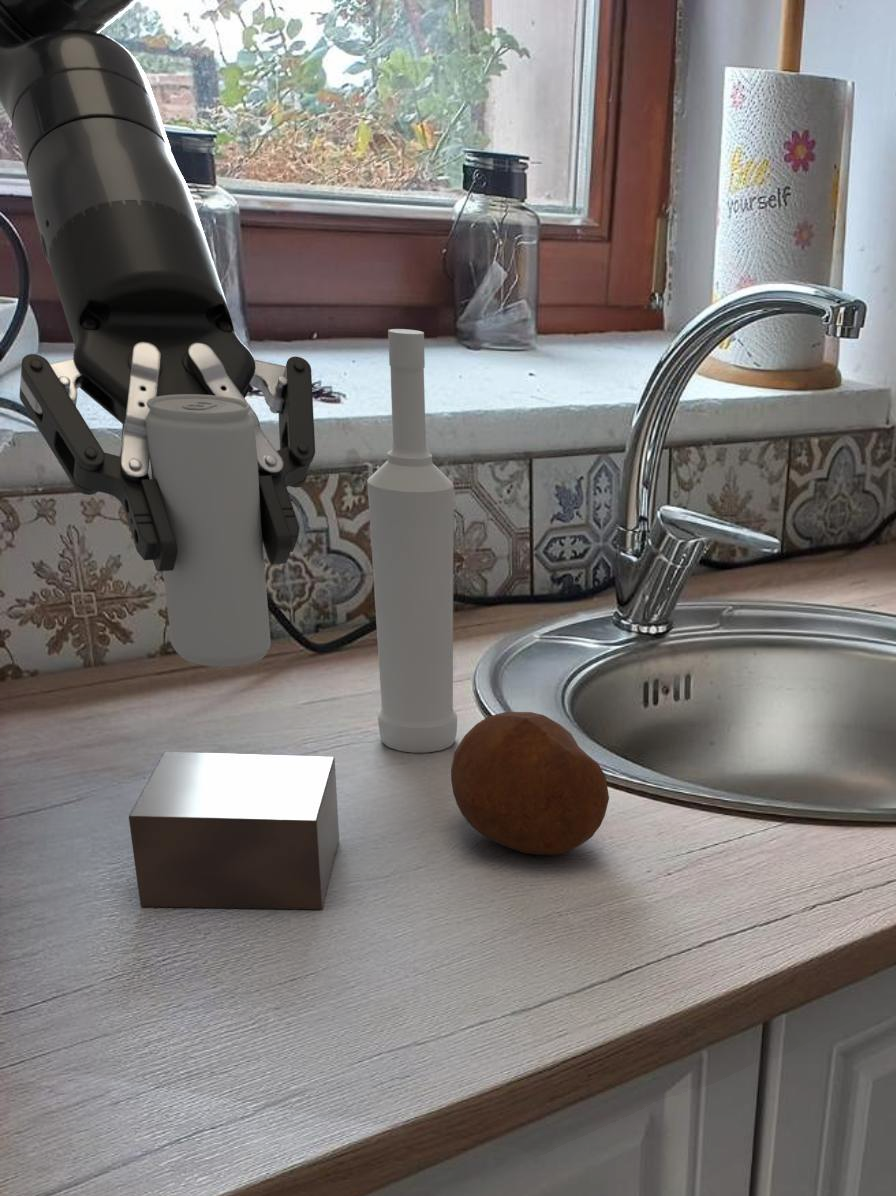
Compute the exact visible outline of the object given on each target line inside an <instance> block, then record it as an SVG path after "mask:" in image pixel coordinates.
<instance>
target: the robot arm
mask: <svg viewBox="0 0 896 1196" xmlns="http://www.w3.org/2000/svg"><path fill="white" fill-rule="evenodd" d="M137 2H138V0H0V104H1V106H2V108H3V110H4V111H5V113H6V115H7V116H8V118H9V120H10V124H11V126H12V131H13V134H14V137H15V140H16V144H17V147H18V151H19V153H20V157H21V159H22V163H23V166H24V170H25V172H26V177H27V178H28V182H29V186H30V192H31V200H32V207H33V213H34V217H35V221H36V225H37V228H38V233H39V238H40V239H39V242H40V246H41V249H42V252H43V253H42V254H43V256H44V258H45V259H46V261H47V262H48V264H49V268H50V270H51V273H52V277H53V280H54V283H55V287H56V289H57V294H58V296H59V300H60V302H61V306H62V309H63V312H64V315H65V319H66V322H67V326H68V328H69V329H68V330H69V331H70V335H71V338H72V340H73V341H72V342H73V344H74V347H75V348H74V349H73V353H72V354H73V355H72V358H68V359H64V360H59V361H53V362H49V361H48V359H46V358H45V357H44V356H42V355H40V354H36V353H30V354H27V355H24V357H23V358H22V360H21V370H20V382H19V383H20V384H19V394H18V395H19V400H20V401H21V403H22V405H23V406H24V408H25V410H26V411H27V413H28V414H29V417H30V418H31V419H32V422H34V424H35V426H36V427H37V429H38V431H39V433H40V434H41V435H42V437H43V439H44V440H45V442H46V444H47V445H48V447H49V449H50V451H51V452H52V453H53V455H54V456H55V458H56V460H57V462H58V463H59V465H60V466H61V468H62V470H63V471H64V473H65V475H66V476H67V478H68V479H69V481H70V483H71V484H72V486H73V487H74V489H75V490H76V491H78V492H79V494H80V493H81V494H83V495H86V496H92V495H96V494H97V493H98V492H99V493H103V494H107V495H110V496H113V498H116V499H117V500H118V501H119V503H121V505H122V508H123V511H124V514H125V518H126V521H127V524H128V527H129V530H130V534H131V536H132V540H133V543H134V546H135V549H136V552H137V553H138V554H139V556H140V557H141V558H142V560H143V561H152V562H153V565H154V568H155V570H156V572H163V571H173V570H174V566H175V562H176V558H177V544H176V540H175V537H174V534H173V530H172V527H171V524H170V521H169V518H168V515H167V511H166V508H165V505H164V502H163V499H162V496H161V492H160V489H159V486H158V483H157V480H156V479H152V478H150V475H149V469H150V453H149V446H148V437H147V429H146V416H147V415H148V414H149V412H150V411H151V410H150V409H149V408H148V406H147V401H148V400H149V399H151V398H153V397H158V396H165V395H178V394H199V395H214V396H223V397H230V398H235V399H239V400H242V401H245V402H247V403H248V401H247V400H246V397H247V395H248V393H249V391H250V390H251V388H252V387H253V388H255V389H257V390H259V391H260V392H261V394H262V395H263V397H264V402H265V403H266V405H267V406H268V408H269V412H271V413H273V414H278V433H279V437H278V438H279V449H276V448H275V447H274V445H273V444H272V443H271V441H270V440H269V439H268V437H267V436H266V434H265V433H264V432H263V430H262V428H261V423H260V420H259V417H258V415H257V414H256V412H255V411H254V409H253V408H252V406H250V410H249V412H248V415H249V416H250V417H251V418H252V419H253V420H254V424H255V436H256V448H257V462H258V476H259V493H260V509H261V525H262V540H263V549H264V551H265V554H266V557H267V560H268V562H269V564H270V565H285V564H287V563H288V560H289V558H290V555H291V553H292V552H294V549H295V547H296V545H297V542H298V540H299V539H298V538H299V536H300V524H299V521H298V518H297V515H296V512H295V509H294V506H293V503H292V500H291V497H290V493H289V491H288V487H291V488H295V489H296V488H297V489H298V488H301V487H303V486H304V485H305V483H306V481H307V478H308V472H309V470H310V466H311V464H312V462H313V460H314V458H315V455H316V440H315V438H316V437H315V436H316V435H315V417H314V416H315V415H314V399H313V396H314V395H313V379H312V377H313V376H312V367H311V365H310V363H309V361H307V360H306V359H305V358H303V357H300V356H297V355H296V356H291V357H289V358H288V359H287V361H286V364H285V365H282V364H277V363H272V362H269V361H264V360H258V359H255V358H254V355H253V354H252V352H251V350H250V349H249V348H248V347H247V346H246V345H245V344H244V343H243V342H242V340H240V338H239V336H238V335H237V333H236V331H235V327H234V324H233V323H234V322H233V320H232V315H231V312H230V309H229V306H228V302H227V299H226V296H225V293H224V291H223V287H222V284H221V281H220V278H219V275H218V272H217V269H216V267H215V262H214V260H213V257H212V254H211V251H210V248H209V245H208V241H207V238H206V234H205V233H204V230H203V226H202V223H201V221H200V217H199V214H198V210H197V208H196V205H195V202H194V199H193V197H192V193H191V192H190V189H189V187H188V185H187V183H186V180H185V179H184V178H185V177H184V176H183V175H182V172H181V171H180V169H179V167H178V165H177V162H176V159H175V157H174V155H173V152H172V149H171V145H170V143H169V139H168V137H167V133H166V131H165V127H164V125H163V120H162V118H161V114H160V111H159V108H158V105H157V102H156V99H155V97H154V94H153V91H152V87H151V85H150V83H149V80H148V79H147V76H146V73H145V72H144V70H143V69H142V66H140V63H139V62H138V61H137V59H136V58H135V56H133V54H131V52H130V51H129V50H128V49H126V48H125V47H124V46H123V45H122V44H121V43H119V42H118V41H116V40H114V39H113V38H111V37H109V36H107V35H105V34H102V33H100V32H101V31H102V30H104V29H105V28H106V27H108V26H109V25H110V24H112V23H113V22H114V21H115V20H116V19H118V18H119V17H120V16H122V15H123V14H124V13H125V12H126V11H128V10H129V9H131V7H132V6H133V5H135V3H137ZM79 388H80V390H81V391H83V392H84V393H85V394H86V395H88V396H89V397H90V398H91V399H92V400H93V401H94V402H95V403H96V404H98V405H99V406H101V407H102V409H104V410H105V411H106V412H108V413H109V414H110V415H111V416H112V417H114V418H115V419H116V420H117V421H118V422H120V423H121V425H122V428H121V435H120V436H121V437H120V445H119V455H116V454H112V453H109V452H105V451H104V449H103V447H102V446H101V444H100V443H99V441H98V440H97V438H96V437H95V434H94V433H93V431H92V430H91V429H90V426H89V425H88V424H87V422H86V420H85V419H84V417H83V416H82V414H81V412H80V410H79V409H78V408H77V402H78V401H77V400H78V389H79Z"/></svg>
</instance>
